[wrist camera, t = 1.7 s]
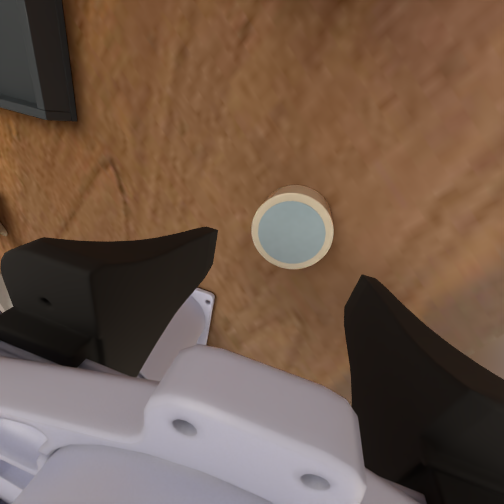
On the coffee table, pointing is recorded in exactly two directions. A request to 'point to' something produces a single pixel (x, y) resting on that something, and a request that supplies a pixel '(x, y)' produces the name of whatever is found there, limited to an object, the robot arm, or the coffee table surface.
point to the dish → (293, 227)
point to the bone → (3, 230)
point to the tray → (35, 60)
